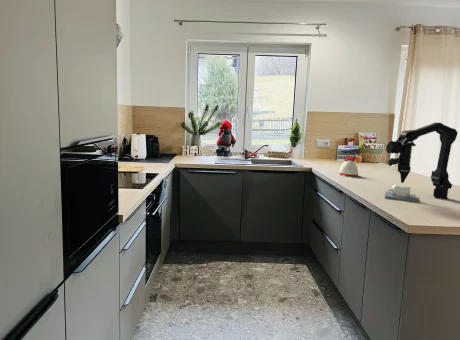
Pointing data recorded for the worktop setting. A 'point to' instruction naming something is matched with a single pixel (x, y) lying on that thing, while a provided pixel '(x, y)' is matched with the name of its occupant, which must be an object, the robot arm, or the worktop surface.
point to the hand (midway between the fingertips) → (402, 181)
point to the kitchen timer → (349, 168)
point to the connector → (400, 191)
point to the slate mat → (401, 197)
